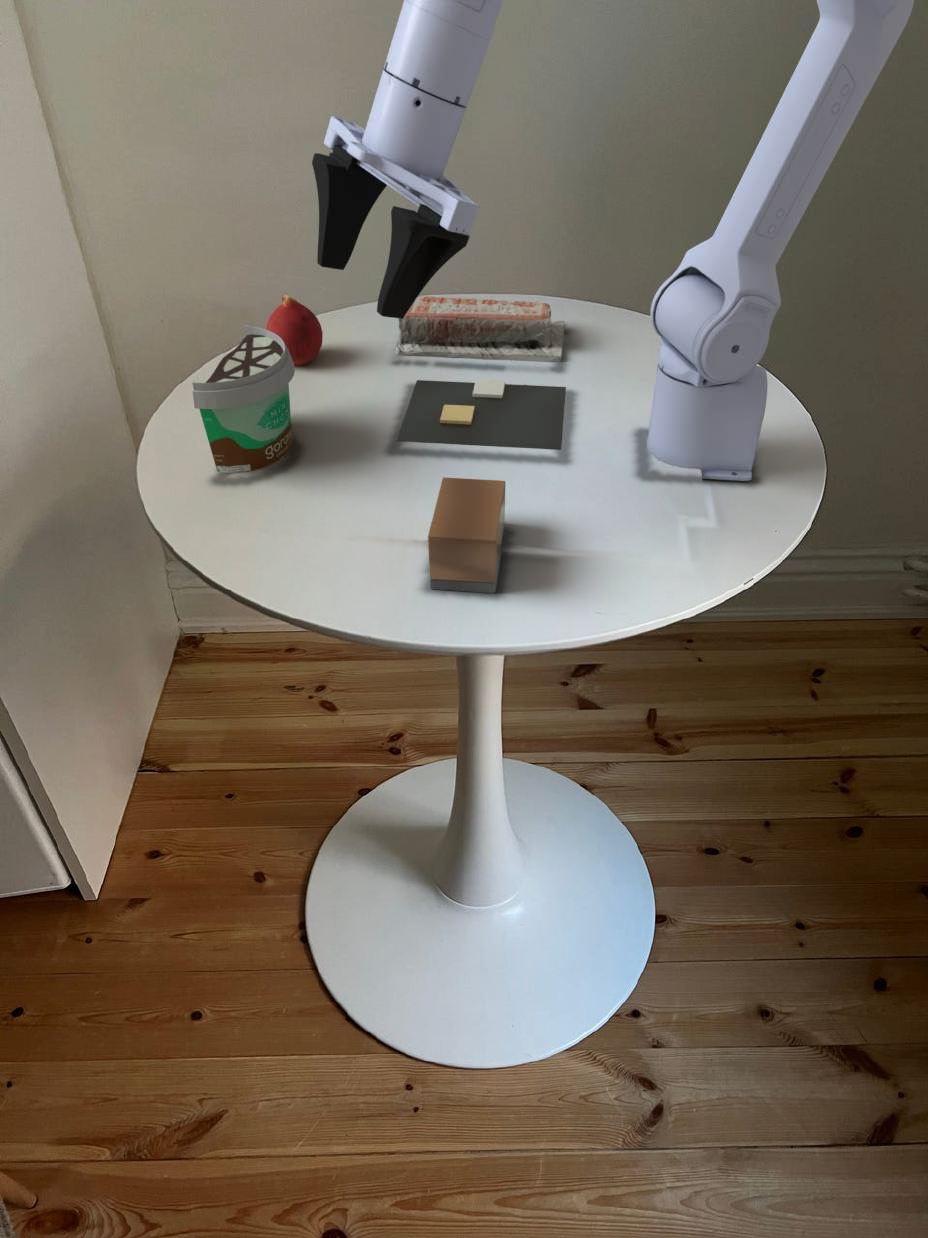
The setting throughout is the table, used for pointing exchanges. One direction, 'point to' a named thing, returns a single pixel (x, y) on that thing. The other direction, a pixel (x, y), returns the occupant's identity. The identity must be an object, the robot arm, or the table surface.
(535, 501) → the table surface
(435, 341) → the packaged product
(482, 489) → the eraser
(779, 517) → the table surface
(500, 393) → the chalk mark
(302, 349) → the onion
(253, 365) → the food container
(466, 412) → the chalk mark
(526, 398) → the slate board
